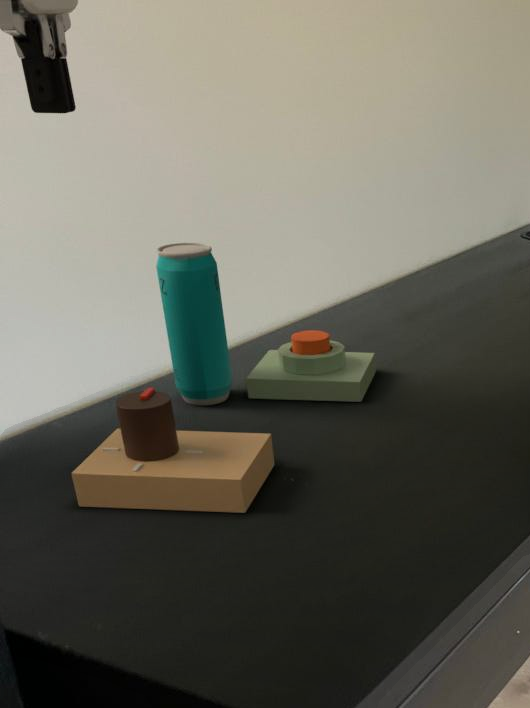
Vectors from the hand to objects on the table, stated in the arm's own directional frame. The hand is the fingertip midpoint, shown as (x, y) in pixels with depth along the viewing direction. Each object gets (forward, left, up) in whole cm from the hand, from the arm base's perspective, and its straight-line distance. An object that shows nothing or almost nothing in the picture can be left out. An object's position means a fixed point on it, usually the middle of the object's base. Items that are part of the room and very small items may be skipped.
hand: (54, 111), depth 85 cm
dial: (+10, -16, -24) cm, 31 cm away
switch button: (+18, +11, -24) cm, 32 cm away
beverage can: (+8, +6, -27) cm, 29 cm away
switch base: (+18, +11, -27) cm, 34 cm away
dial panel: (+12, -16, -27) cm, 34 cm away
